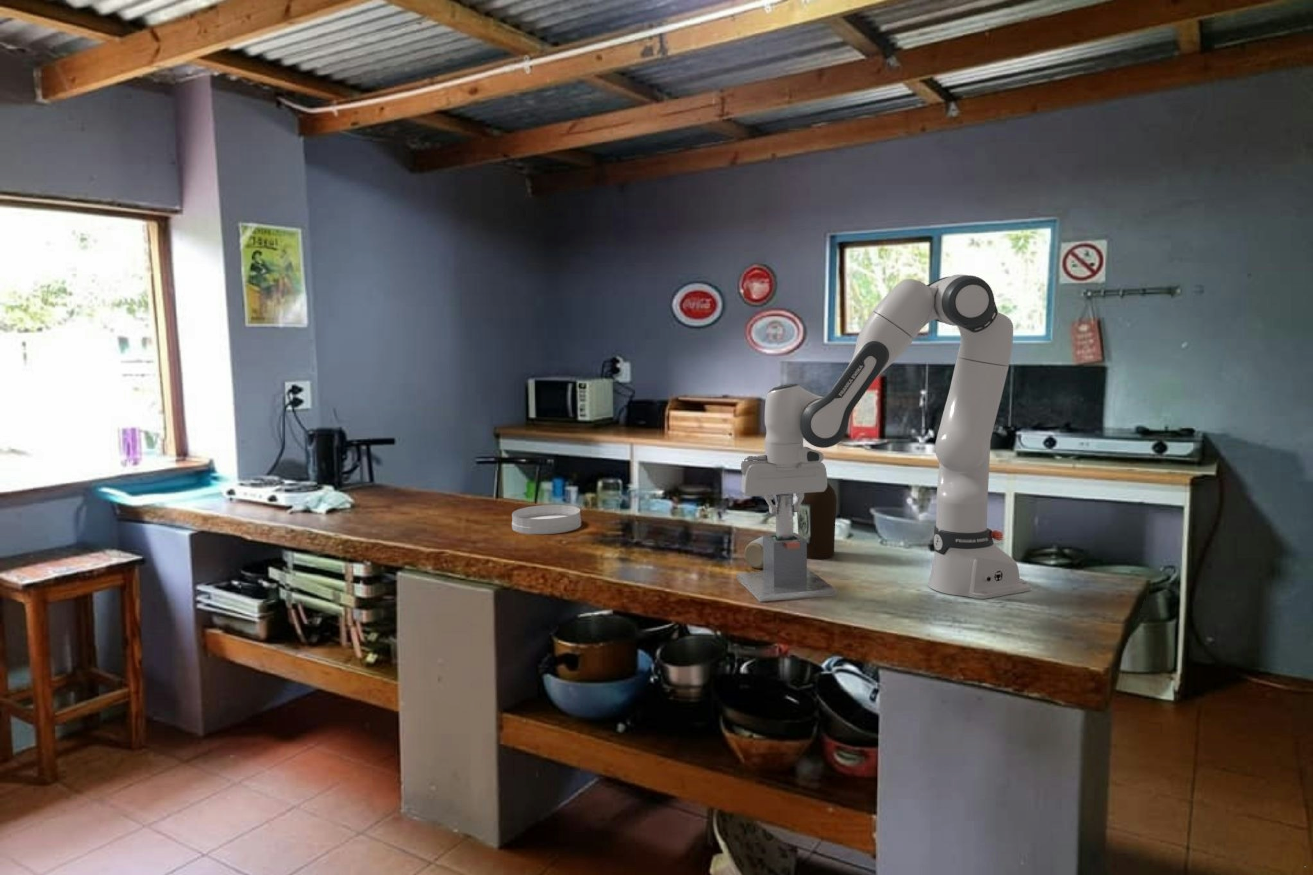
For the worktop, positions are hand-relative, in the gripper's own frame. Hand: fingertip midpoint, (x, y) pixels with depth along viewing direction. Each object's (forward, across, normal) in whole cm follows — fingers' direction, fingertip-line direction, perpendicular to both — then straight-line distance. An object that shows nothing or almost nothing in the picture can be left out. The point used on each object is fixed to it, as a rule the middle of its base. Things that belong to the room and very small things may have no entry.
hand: (784, 512), depth 194 cm
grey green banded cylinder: (+14, 0, 0) cm, 14 cm away
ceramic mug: (+18, +2, +18) cm, 26 cm away
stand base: (+18, 0, 0) cm, 18 cm away
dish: (+18, -51, +81) cm, 98 cm away
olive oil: (+18, +18, +25) cm, 36 cm away
